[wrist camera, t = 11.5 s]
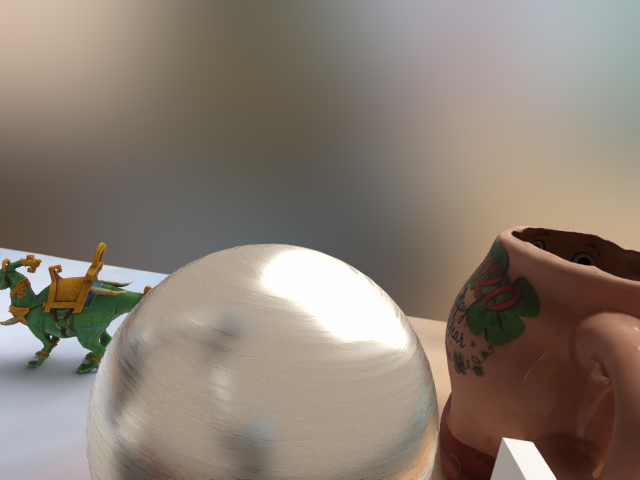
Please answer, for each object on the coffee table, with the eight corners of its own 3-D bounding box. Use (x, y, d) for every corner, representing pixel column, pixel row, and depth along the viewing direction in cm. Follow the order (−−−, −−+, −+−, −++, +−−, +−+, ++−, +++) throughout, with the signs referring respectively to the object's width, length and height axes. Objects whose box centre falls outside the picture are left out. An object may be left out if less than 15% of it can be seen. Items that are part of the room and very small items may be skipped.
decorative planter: (777, 738, 18) (962, 368, 14) (419, 635, 19) (515, 278, 16) (581, 420, 37) (641, 232, 34) (411, 381, 38) (454, 197, 35)
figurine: (-5, 344, 33) (-2, 222, 32) (184, 360, 36) (198, 247, 34) (-29, 368, 30) (-27, 235, 29) (180, 383, 33) (194, 260, 31)
